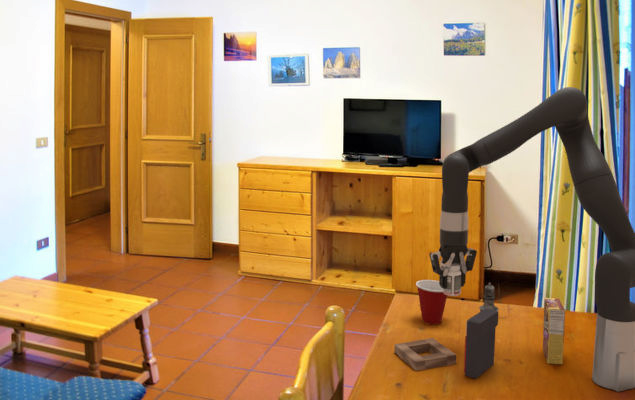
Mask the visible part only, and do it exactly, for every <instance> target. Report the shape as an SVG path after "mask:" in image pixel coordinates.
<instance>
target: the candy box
mask: <svg viewBox="0 0 635 400" xmlns="http://www.w3.org/2000/svg"><path fill="white" fill-rule="evenodd" d="M543 301H544V303H543V331H542V335H543V336H542V352H543V354H544V357H545V361H546V364H549V365H563V364H564V363H563V362H564V361H563V360H564V348H565V347H564V345H565V343H564V342H565V341H564V340H565V339H564V338H565V322H566V321H565V320H566V319H565V318H566V309H565V308H564V306H563V304H562V302H561V300H560V298H555V297H553V298H551V297H544V300H543Z"/></svg>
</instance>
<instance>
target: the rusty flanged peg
mask: <svg viewBox="0 0 635 400" xmlns="http://www.w3.org/2000/svg"><path fill="white" fill-rule="evenodd" d="M483 298H484V299H483V304H482V305H480V306H479V308H478V309H479V312H481V311H482V310H484V309H491V310H495V311H498V312H499V307H497V306H495V299H496V295H495V286H494V285H492V283H491V282H488V284H487V285H485V287H484V295H483Z"/></svg>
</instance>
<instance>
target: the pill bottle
mask: <svg viewBox="0 0 635 400" xmlns="http://www.w3.org/2000/svg"><path fill="white" fill-rule="evenodd" d="M446 264H447V263H446ZM459 270H460V264H457V263H454V264H451V267H450V269H449V270H448V273H447V275H446V276H447V289H444V294H445V295H448V296H451V297H457V296H459V295H461V293H462V287H461V271H459Z"/></svg>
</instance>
